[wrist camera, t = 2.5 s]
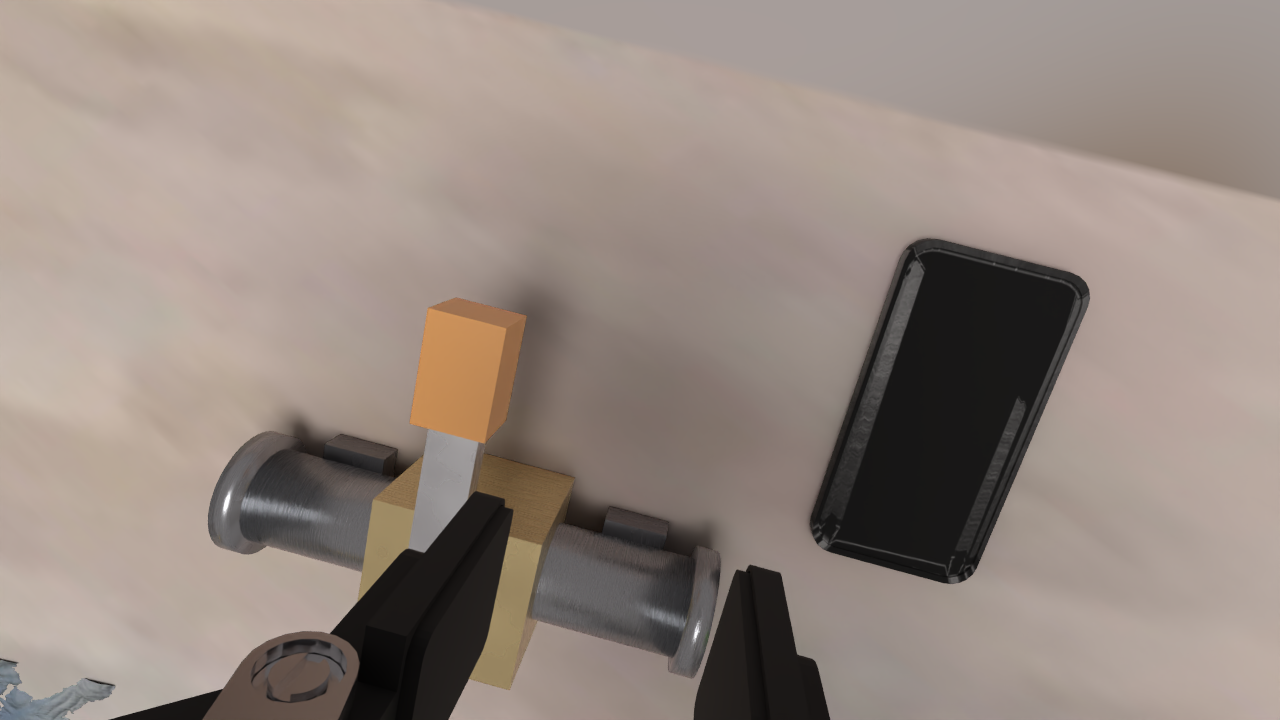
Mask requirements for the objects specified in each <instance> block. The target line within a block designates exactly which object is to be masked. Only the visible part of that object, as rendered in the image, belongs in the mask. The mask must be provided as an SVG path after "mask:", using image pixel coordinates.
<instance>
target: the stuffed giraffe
mask: <svg viewBox="0 0 1280 720" xmlns="http://www.w3.org/2000/svg"><path fill="white" fill-rule="evenodd" d="M16 664H17V663H11V662H6V661H4V660H0V695H1V694H2V695H3V692H4V691H5V690H6V689H7V688H6V687H7V685H8V684H13V685H16V686H14V689H13V690H12V691H11V692H10V693H9V694H7V695H6V696H5V697H6V701H5V700H3V699H2V698H0V701H1V703H2V704H3V705H4V707H2V708H1V706H0V708H1V711H0V720H70V719H68V718H65V717H64V718H62V716H65V715H67V711H68V710H70V711H71V713H72V714H74V713H73V711H75V710H77V709H79V708H81V707H82V706H83V705H84V704H86V703H87V702H88V701H90V702H94V701H95V700H103V699H104V698H107V697H109V695H110V694H112V693H111V692H112V690H114V689H115V686H111V685H103V684H98V683H95V682H92V681H89V680H87V679H86V678H83V679H81V680H80V681H79V682H77V685H72V686H70V687H68V688H63V692H60V693H56V694H55V695H52V696H51V697H50V698H44V699H42V700H32V702H31V699H32V698H33V697H31V696H29V695H28V694H27V693H25V692H23V691H19V690H18V689H17V685H18V684H20V683H22V682H21V680H20V678H19V674H18V673H17V672H16V671H15V669H14V668H12V667H16V666H17V665H16Z"/></svg>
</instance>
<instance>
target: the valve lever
mask: <svg viewBox="0 0 1280 720" xmlns="http://www.w3.org/2000/svg"><path fill="white" fill-rule="evenodd" d="M526 318H527V316H526V315H522V314H518V313H514V312H511V311H507V310H503V309H499V308H495V307H491V306H487V305H483V304H479V303H476V302H472V301H468V300H464V299H460V298H453V299H451V300H448V301H445V302H442V303H440V304H437V305H434V306H432V307H429V308H428V310H427V316H426V323H425V329H424V335H423V342H422V348H421V354H420V361H419V367H418V373H417V380H416V386H415V392H414V398H413V405H412V411H411V417H410V424H413V425H417V426H420V427H424V428H428V433H427V439H426V445H425V451H424V457H423V463H422V469H421V475H420V481H419V487H418V493H417V499H416V505H415V511H414V517H413V523H412V529H411V535H410V541H409V547H408V549H413V550H416V551H420V552H424V553H425V552H426V550H427V549H428V548H429V547H430V545H431V544H432V543H433V542H434V540H435V539H436V538H437V537H438V536H439V534H440V533H441V532H442V531H443V529H444V528H445V527H446V526H447V524H448V523H449V522H450V521H451V520H452V518H453V517H454V516H455V515H456V513H457V512H458V511H459V510H460V508H461V507H462V506H463V505H464V503H465V502H466V501H467V500H468V499H469V497H470V496H471V495H472V494H473V493H474V492H475V491H477V487H478V481H479V476H480V471H481V466H482V461H483V455H484V450H485V445H486V442H487V440H488V439H489V438H490V437H491V436H492V435H493V434H494V433H495V432H496V431H497V430H498V429H499V428H500V426H501V425H502V424H503V423H504V422H505V421H506V419H507V414H508V409H509V404H510V399H511V394H512V388H513V383H514V378H515V373H516V368H517V363H518V358H519V353H520V348H521V343H522V338H523V333H524V328H525V323H526Z"/></svg>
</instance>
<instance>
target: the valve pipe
mask: <svg viewBox="0 0 1280 720" xmlns="http://www.w3.org/2000/svg"><path fill="white" fill-rule="evenodd" d="M396 456H397V449H395V448H391V447H387V446H383V445H380V444H376V443H372V442H368V441H365V440H361V439H357V438H354V437H350V436H346V435H342V434H340V435H338V436H337V437H335V438H334V439H332V440H330V441H329V442H327V443H326V444H325V447H324V455H323V458H320V457H317V456H313V455H309V454H307V452H306V449H305V446H304V444H303V443H302V442H301V441H300V440H299V439H297V438H295V437H292V436H288V435H284V434H281V433H277V432H272V431H269V432H263V433H261V434H258V435H256V436H255V437H253V438H251V439H250V440H249V441H247V442H246V443H245V444H244V445H243V446H242V447H241V448H240V449H239V450H238V451H237V452H236V453H235V455H234V456H233V457H232V458H231V460H230V461H229V463H228V464H227V466H226V467H225V469H224V471H223V472H222V474H221V476H220V478H219V480H218V482H217V485H216V487H215V490H214V492H213V495H212V499H211V502H210V507H209V513H208V529H209V534H210V537H211V539H212V541H213V542H214V543H215V544H216V545H217V546H218V547H220V548H223V549H227V550H230V551H234V552H238V553H241V554H253V553H256V552H258V551H260V550H262V549H263V548H265V547H266V546H270V547H273V548H277V549H281V550H284V551H288V552H291V553H295V554H299V555H302V556H306V557H309V558H313V559H317V560H320V561H324V562H328V563H331V564H335V565H338V566H342V567H346V568H349V569H353V570H357V571H360V572H362V576H361V583H360V590H359V597H358V601H359V600H360V599H361V598H362V597H363V595H364V594H365V593H366V592H367V591H368V590H369V589H370V587H371V586H372V585H373V584H374V583H375V582H376V581H377V579H378V578H379V577H380V576H381V575H382V574H383V573H384V572H385V570H386V569H387V568H388V567H389V566H390V565H391V564H392V562H393V561H394V560H395V559H396V558H397V557H398V556H399V554H400V553H401V552H403V551H404V550H405V549H408V547H409V541H410V535H411V529H412V523H413V517H414V511H415V505H416V499H417V493H418V487H419V481H420V475H421V469H422V463H423V457H424V455H423V456H422V457H420V458H419V459H418V460H417V461H416V462H415V463H414V464H412V465H411V466H410V467H409V468H408V469H407V470H406V471H405V472H403V473H402V474H401V475H400V476H399V477H398V478H394V477H393V475H394V469H395V462H396ZM574 479H575V477H571V476H567V475H563V474H560V473H556V472H552V471H548V470H545V469H541V468H537V467H533V466H530V465H526V464H522V463H518V462H515V461H511V460H507V459H503V458H500V457H496V456H492V455H488V454H485V453H484V455H483V461H482V466H481V471H480V476H479V481H478V487H477V491H478V492H482V493H485V494H489V495H493V496H496V497H500V498H504V499H505V507H507V508H510V509H513V518H512V523H511V528H510V533H509V537H508V542H507V547H506V552H505V557H504V561H503V566H502V571H501V576H500V580H499V585H498V590H497V595H496V600H495V604H494V609H493V614H492V619H491V623H490V628H489V633H488V637H487V640H486V643H485V646H484V649H483V651H482V653H481V655H480V657H479V659H478V661H477V663H476V665H475V667H474V669H473V671H472V673H471V675H470V677H469V679H471V680H475V681H478V682H482V683H485V684H489V685H492V686H496V687H500V688H503V689H507V690H510V688H511V685H512V683H513V680H514V678H515V675H516V673H517V670H518V668H519V665H520V663H521V661H522V658H523V656H524V653H525V651H526V648H527V646H528V643H529V641H530V638H531V636H532V634H533V631H534V629H535V626H536V624H537V621H541V622H545V623H548V624H552V625H555V626H559V627H563V628H566V629H570V630H574V631H577V632H581V633H584V634H588V635H592V636H595V637H599V638H603V639H606V640H610V641H613V642H617V643H621V644H624V645H628V646H631V647H635V648H639V649H642V650H646V651H650V652H653V653H657V654H660V655H664V656H668V670H669V672H670V673H674V674H677V675H681V676H685V677H688V678H694V676H695V675H696V673H697V671H698V669H699V667H700V664H701V661H702V658H703V655H704V652H705V649H706V645H707V642H708V638H709V634H710V630H711V626H712V621H713V616H714V611H715V606H716V600H717V594H718V587H719V579H720V566H721V559H720V553H719V551H716V550H712V549H708V548H705V547H701V546H696V547H695V548H694V550H693V552H692V555H691V557H687V556H684V555H680V554H676V553H672V552H669V551H665V550H663V547H664V544H665V540H666V537H667V529H668V522H667V521H663V520H660V519H656V518H652V517H648V516H645V515H641V514H637V513H633V512H630V511H626V510H622V509H619V508H615V507H611V506H609V509H608V513H607V516H606V519H605V523H604V527H603V531H602V533H598V532H595V531H591V530H587V529H583V528H580V527H576V526H572V525H569V524H565V523H564V522H565V518H566V513H567V509H568V505H569V500H570V496H571V492H572V487H573V483H574Z"/></svg>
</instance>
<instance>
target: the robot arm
mask: <svg viewBox="0 0 1280 720" xmlns="http://www.w3.org/2000/svg"><path fill="white" fill-rule="evenodd" d="M512 518H513V509H510V508H507V507H505V499H504V498H500V497H496V496H493V495H489V494H485V493H482V492H478V491H475V492H474V493H473V494H472V495H471V496H470V497H469V499H468V500H467V501H466V502H465V503H464V505H463V506H462V507H461V508H460V510H459V511H458V512H457V513H456V515H455V516H454V517H453V518H452V520H451V521H450V522H449V523H448V524H447V526H446V527H445V528H444V529H443V531H442V532H441V533H440V534H439V536H438V537H437V538H436V539H435V540H434V542H433V543H432V544H431V545H430V547H429V548H428V549H427V550H426V552H425V553H424V552H420V551H416V550H413V549H405V550H404V551H403V552H401V553H400V554H399V556H398V557H397V558H396V559H395V560H394V561H393V562H392V564H391V565H390V566H389V567H388V568H387V569H386V570H385V572H384V573H383V574H382V575H381V576H380V577H379V578H378V579H377V581H376V582H375V583H374V584H373V585H372V586H371V587H370V589H369V590H368V591H367V592H366V593H365V594H364V595H363V597H362V598H361V599H360V600H359V601H358V602H357V603H356V605H355V606H354V607H353V608H352V609H351V610H350V611H349V612H348V614H347V615H346V616H345V617H344V618H343V619H342V620H341V622H340V623H339V624H338V625H337V626H336V627H335V628H334V630H333V631H332V632H331V633H330V634H328V633H324V632H312V631H302V632H296V633H290V634H285V635H282V636H279V637H276V638H274V639H271V640H268V641H266V642H265V643H263V644H262V645H260V646H258V647H257V648H255V649H254V650H252V651H251V652H250V654H249V655H248V656H247V657H246V658H245V659H244V660H243V661H242V662H241V664H240V665H239V667H238V668H237V669H236V671H235V672H234V674H233V675H232V677H231V678H230V680H229V681H228V683H227V684H226V686H225V687H224V688H223V689H221V690H217V691H214V692H210V693H206V694H203V695H199V696H195V697H191V698H188V699H184V700H180V701H177V702H173V703H169V704H166V705H162V706H158V707H154V708H151V709H147V710H143V711H140V712H136V713H132V714H128V715H125V716H121V717H117V718H114V719H110V720H448V719H449V717H450V715H451V713H452V711H453V709H454V707H455V705H456V703H457V701H458V699H459V697H460V695H461V693H462V691H463V689H464V687H465V685H466V683H467V681H468V679H469V677H470V675H471V673H472V671H473V669H474V667H475V665H476V663H477V661H478V659H479V657H480V655H481V653H482V651H483V649H484V646H485V643H486V640H487V637H488V633H489V628H490V623H491V619H492V614H493V609H494V604H495V600H496V595H497V590H498V585H499V580H500V576H501V571H502V566H503V561H504V557H505V552H506V547H507V542H508V537H509V533H510V528H511V523H512ZM694 720H830V717H829V713H828V708H827V704H826V700H825V696H824V692H823V687H822V683H821V679H820V675H819V671H818V667H817V664H816V662H815V661H814V660H813V659H810V658H807V657H803V656H800V655H797V652H796V647H795V642H794V637H793V632H792V627H791V622H790V617H789V612H788V607H787V602H786V597H785V592H784V587H783V582H782V577H781V574H780V573H779V572H775V571H771V570H768V569H764V568H760V567H757V566H753V565H749V566H748V568H747V570H746V572H744V571H740V570H736V572H735V574H734V577H733V580H732V583H731V586H730V589H729V592H728V596H727V599H726V602H725V605H724V608H723V612H722V615H721V618H720V621H719V625H718V628H717V631H716V634H715V637H714V641H713V644H712V647H711V650H710V653H709V657H708V660H707V663H706V666H705V669H704V673H703V676H702V679H701V682H700V685H699V689H698V692H697V696H696V701H695V708H694Z"/></svg>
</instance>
